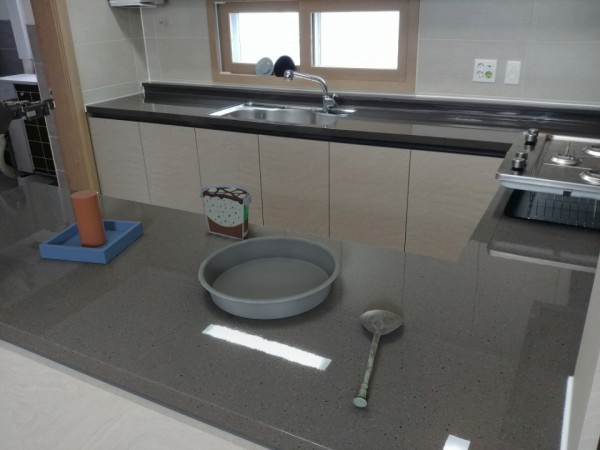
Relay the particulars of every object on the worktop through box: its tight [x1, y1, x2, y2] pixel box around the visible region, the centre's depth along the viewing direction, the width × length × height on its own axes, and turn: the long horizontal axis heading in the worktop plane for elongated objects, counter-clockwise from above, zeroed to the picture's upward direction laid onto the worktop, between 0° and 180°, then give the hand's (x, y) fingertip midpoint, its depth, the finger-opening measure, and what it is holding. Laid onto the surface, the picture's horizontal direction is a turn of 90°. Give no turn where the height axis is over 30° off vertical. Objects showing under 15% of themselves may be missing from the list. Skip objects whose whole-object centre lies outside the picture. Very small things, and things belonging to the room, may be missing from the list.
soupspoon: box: [352, 309, 404, 408], centre depth 76 cm, size 22×3×7 cm
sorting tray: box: [38, 218, 144, 265], centre depth 113 cm, size 15×15×3 cm
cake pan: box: [197, 235, 341, 320], centre depth 94 cm, size 25×25×4 cm
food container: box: [199, 183, 253, 241], centre depth 116 cm, size 12×6×10 cm, turn 59°
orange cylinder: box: [70, 189, 107, 248], centre depth 111 cm, size 5×5×11 cm
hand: (35, 102), depth 112 cm, fingers open, 8 cm apart
